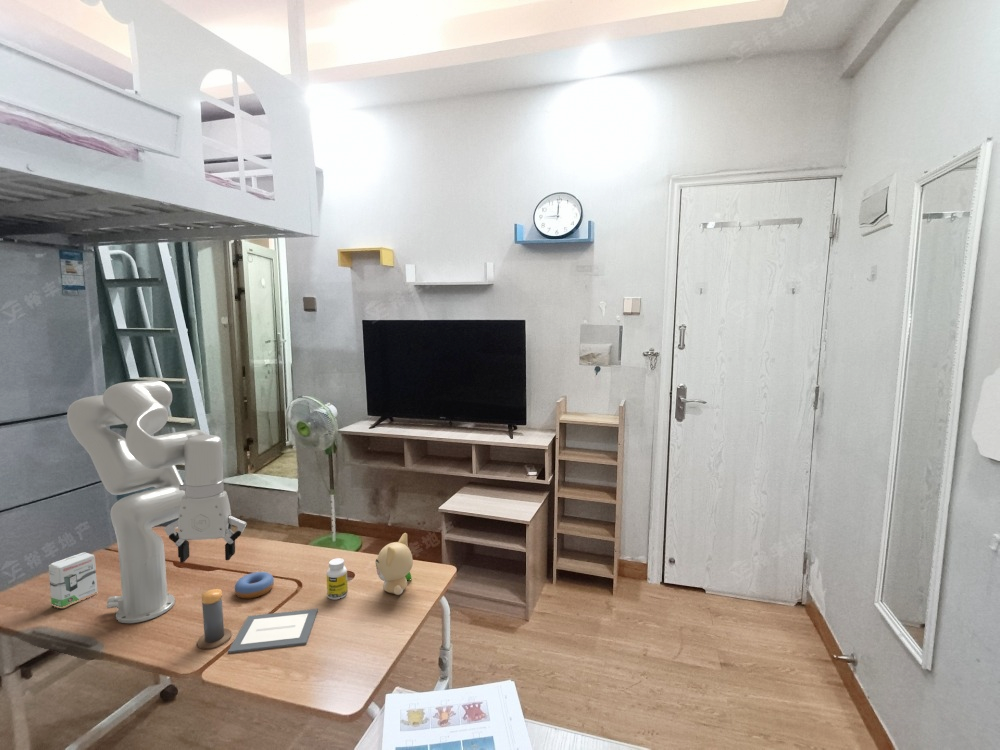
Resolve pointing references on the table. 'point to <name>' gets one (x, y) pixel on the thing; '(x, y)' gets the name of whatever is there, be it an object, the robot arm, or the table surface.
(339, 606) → the table surface
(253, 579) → the doughnut
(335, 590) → the supplement bottle
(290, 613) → the grey picture frame
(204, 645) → the coaster
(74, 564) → the ink box
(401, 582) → the kitten
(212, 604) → the marker
